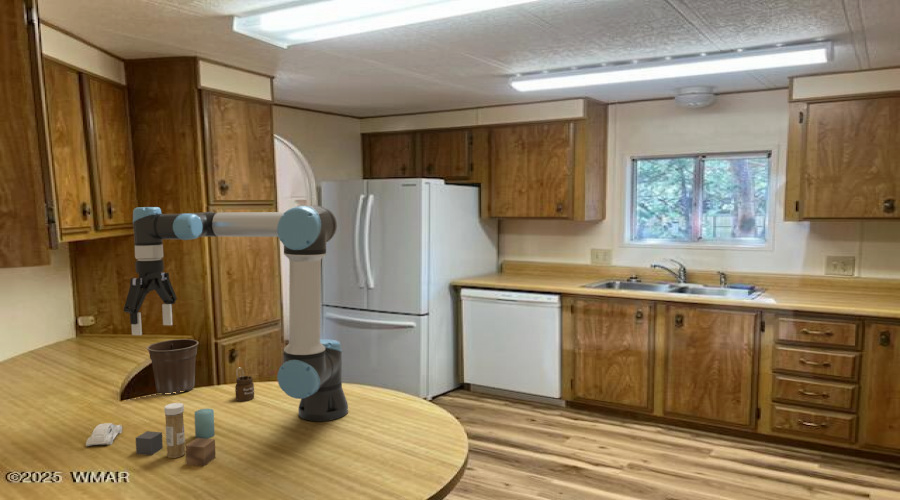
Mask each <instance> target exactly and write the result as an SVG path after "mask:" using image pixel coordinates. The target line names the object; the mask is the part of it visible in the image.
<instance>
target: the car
mask: <svg viewBox="0 0 900 500" xmlns="http://www.w3.org/2000/svg"><path fill="white" fill-rule="evenodd" d="M123 427H124V426H122V424H114V423H111V422H105V423H99V424H97V425H96V426H95V427H94V429H93V431H92V433H91V436H89V437H87V440H86V442H85V447H91V446H98V445H99V446H103V445H107V446H111V445H112V444H113V443H114V441H115V439H116V437H117V436H118V434H121V433H123Z"/></svg>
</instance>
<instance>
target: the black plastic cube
mask: <svg viewBox="0 0 900 500" xmlns="http://www.w3.org/2000/svg"><path fill="white" fill-rule="evenodd" d="M163 445H164V444H163V432H161V431H152V430H151V431H149V430H148V431H147V430H146V431H145V432H143V433H141V434H140V435H138V436H136V437H135V452H136V455H141V456H142V455H144V456H145V455H146V456H153V455H154V454H156V453H158V452H159V451H161V450H162V449H164V446H163Z"/></svg>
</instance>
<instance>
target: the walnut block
mask: <svg viewBox="0 0 900 500" xmlns="http://www.w3.org/2000/svg"><path fill="white" fill-rule="evenodd" d="M185 452H186V453H185V464H186V465H188V466H196V467H199V466H200V467H205V466H207V465H208V464H209V463H210V462H212V461H213V460H214V459H216V439H215V438H214V439H213V438H208V439H204V438H196V437H195V439H193V440H192V441H191V442H188V443H187V444H186V445H185Z"/></svg>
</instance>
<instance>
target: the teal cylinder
mask: <svg viewBox="0 0 900 500" xmlns="http://www.w3.org/2000/svg"><path fill="white" fill-rule="evenodd" d="M194 430H195V431H194V436H195V439H196V438H204V439H212V438H213V437H214V436H215V435H216V433H215V413H214V409H213V408H201V409H197V410H195V411H194Z"/></svg>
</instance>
